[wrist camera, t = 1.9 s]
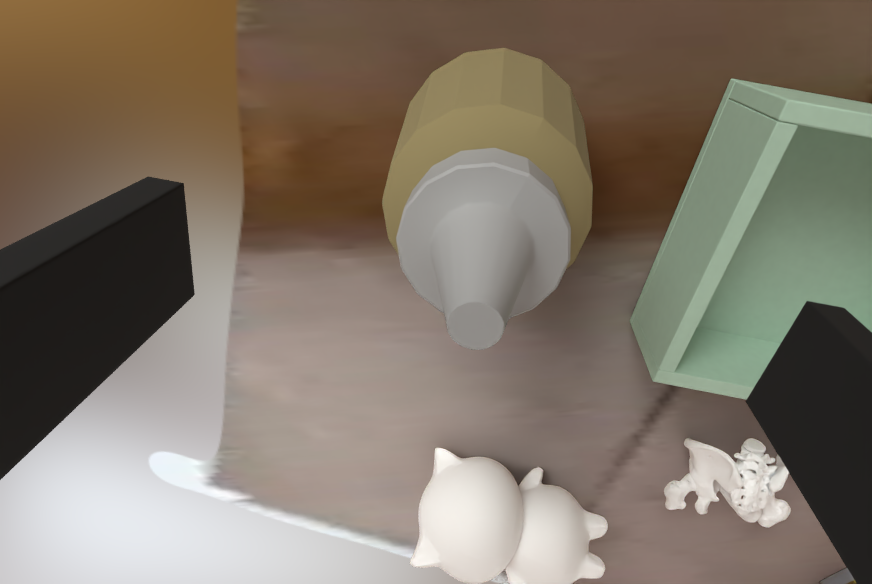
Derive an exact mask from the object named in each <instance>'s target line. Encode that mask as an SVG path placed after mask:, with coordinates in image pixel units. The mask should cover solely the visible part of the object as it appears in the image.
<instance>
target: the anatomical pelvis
mask: <svg viewBox="0 0 872 584" xmlns="http://www.w3.org/2000/svg"><path fill="white" fill-rule="evenodd" d="M684 445H685V446H686V447H687V448H688V449H689V453H690V459H689V469H690V473H688V474H686V475H685V476H684V477H683V479H682V480H681V481H676V480H673V481H671V482H669V483H668V484H667V486H666V487H665V489H664V494H665V496H666V502H665V507H666V508H667V509H669V510H675V509H684V508H685V507H686V503H685V502H684V498H685V496H686V495H687V494H688V493H689V492H690V491H696V495H698V500H697V502H696V503H695V509H696V510H697V512H698V513H699V514H701V515H703V514H706V513H707V512H708V511H707V510H708V506H709V504H710V502H711V501H715V502H718V501H719V498H718V497H717V496H716V493H717V492H718V491H719V490H720V492H721V493H722V495H723V496H724V497H725V499H726V500H727V502H728V503H729V504H730V506H731V507H732V508H733V509H734V510H735V511H736V513H737V514H738V516H740V517H741V518H742V519H743V520H745V521H747V522H751V523H754V522H756V521H758V523H759V524H760V525H761V526H763V527H767V528H769V527H771V526H773V525H774V524H776V523H778V522H780V521H784V520H785V519H787V517H788V516H789V514H790V512H791V509H790V507H789V505H788V503H787V502H786V501H784V500H781V499H776V498H775V494H774V493H775V492H777V491H779V490H781V489H782V488H783V486H784V483H785V481H786V480H787V478H788V474H789V471H788V470H787V468H786V467H785V465H784V463H783V462H782V460H781V458H780V457H779V455H777V457H776V459H777V463H776V465H771V466H767V465H766V464H771V463H774V462H775V458H770V457H769V455H768V454H765V455H764V453H765V450H766V447H765V446H764V445H763V443H761V442H760V441H758V440H756V439H753V438H750V439H747V440H746V441H744V443H743V445H742V446H741V452H740V453H735V454H734V457H735V458H738V460H737V462H736V463H735V461H733V459H732V458H731V457H730V456H729V455H728V454H727V453H725V452H724V451H722V450H720V449H717V448H715V447H713V446H710V445H707V444H703V443H701V442H698V441H695V440H692V439H690V438H686V439H685V441H684ZM710 456H711V457H710ZM740 474H741V475H742V477H741V476H740ZM741 487H743V489H742V488H741ZM741 496H743V499H741ZM739 504H741V506H739Z"/></svg>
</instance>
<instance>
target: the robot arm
mask: <svg viewBox="0 0 872 584" xmlns="http://www.w3.org/2000/svg"><path fill="white" fill-rule="evenodd" d="M193 296H194V285H193V275H192V264H191V254H190V245H189V234H188V224H187V214H186V203H185V194H184V184H183V183H179V182H174V181H169V180H163V179H158V178H152V177H146V178H145V179H142V180H140V181H138V182H136V183H134V184H132V185H130V186H128V187H126V188H124V189H122V190H120V191H118V192H116V193H114V194H112V195H110V196H108V197H106V198H104V199H102V200H100V201H98V202H96V203H94V204H92V205H90V206H88V207H86V208H84V209H82V210H80V211H78V212H76V213H74V214H72V215H69V216H68V217H65V218H64V219H61V220H59V221H57V222H55V223H54V224H51V225H49V226H47V227H45V228H43V229H41V230H39V231H37V232H35V233H33V234H31V235H29V236H27V237H25V238H23V239H21V240H19V241H17V242H15V243H13V244H11V245H9V246H7V247H5V248H3V249H1V250H0V480H1V478H3V477H4V476H5V475H6V474H7V473H8V472H9V471H10V470H11V469H12V468H13V467H14V466H15V465H16V464H17V463H18V462H19V461H20V460H21V459H22V458H24V457H25V456H26V455H27V454H28V453H29V452H30V451H31V450H32V449H33V448H34V447H35V446H36V445H37V444H38V443H39V442H40V441H42V440H43V439H44V438H45V437H46V436H47V435H48V434H49V433H50V432H51V431H52V430H53V429H54V428H55V427H56V426H57V425H58V424H59V423H60V422H61V421H63V420H64V418H66V417H67V416H68V415H69V414H70V413H71V412H72V411H73V410H74V409H75V408H76V407H77V406H78V405H79V404H80V403H81V402H82V401H83V400H84V399H86V398H87V397H88V396H89V395H90V394H91V393H92V392H93V391H94V390H95V389H96V388H97V387H98V386H99V385H100V384H101V383H102V382H103V381H104V380H106V379H107V378H108V377H109V376H110V375H111V374H112V373H113V372H114V371H115V370H116V369H117V368H118V367H119V366H120V365H121V364H122V363H123V362H124V361H126V360H127V359H128V358H129V357H130V356H131V355H132V354H133V353H134V352H135V351H136V350H137V349H138V348H139V347H140V346H141V345H142V344H143V343H144V342H145V341H146V340H148V338H150V337H151V336H152V335H153V334H154V333H155V332H156V331H157V330H158V329H159V328H160V327H161V326H162V325H163V324H164V323H165V322H166V321H168V320H169V318H171V317H172V316H173V315H174V314H175V313H176V312H177V311H178V310H179V309H180V308H181V307H182V306H183V305H184V304H185V303H186V302H187V301H188V300H190V299H191V297H193ZM746 403H747V404H748V406H749V407H750V409H751V411H752V412H753V414H754V416H755V417H756V419H757V421H758V422H759V424H760V426H761V427H762V429H763V430H764V432H765V434H766V435H767V437H768V439H769V440H770V442H771V444H772V445H773V447H774V448H775V450H776V452H777V453H778V455H779V457H780V458H781V460H782V462H783V463H784V465H785V467H786V468H787V470H788V471H789V473H790V475H791V476H792V478H793V480H794V481H795V483H796V485H797V486H798V488H799V490H800V491H801V493H802V494H803V496H804V498H805V499H806V501H807V503H808V504H809V506H810V508H811V509H812V511H813V513H814V514H815V516H816V517H817V519H818V521H819V522H820V524H821V526H822V527H823V529H824V531H825V532H826V534H827V536H828V537H829V539H830V540H831V542H832V544H833V545H834V547H835V549H836V550H837V552H838V554H839V555H840V557H841V559H842V560H843V562H844V563H845V565H846V567H847V568H848V570H849V572H850V573H851V575H852V577H853V578H854V580H855V582H856V583H857V584H872V332H871V331H870V330H868V329H867V328H866V327H865V326H864V325H863V324H862V323H861V322H860V321H858V320H857V319H856V318H855V317H854V316H853V315H852V314H851V313H849V312H848V311H847V310H846V309H845V308H843V307H837V306H832V305H827V304H821V303H816V302H811V301H806V303H805V305H804V306H803V308H802V310H801V311H800V313H799V315H798V316H797V318H796V319H795V321H794V323H793V324H792V326H791V328H790V329H789V331H788V333H787V334H786V336H785V338H784V339H783V341H782V342H781V344H780V346H779V347H778V349H777V351H776V352H775V354H774V356H773V357H772V359H771V361H770V362H769V364H768V365H767V367H766V369H765V370H764V372H763V374H762V375H761V377H760V379H759V380H758V382H757V383H756V385H755V387H754V388H753V390H752V392H751V393H750V395H749V397H748V398H747V400H746Z"/></svg>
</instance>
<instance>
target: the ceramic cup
mask: <svg viewBox="0 0 872 584" xmlns="http://www.w3.org/2000/svg"><path fill="white" fill-rule="evenodd" d="M820 584H857V583H856V582H855V580H854V578H853V577H852V575H851V573H850V572H849V570H848V568H845V569H843V570H841V571H839V572H837V573H835V574H833V575H832V576H830V577H828V578H826V579H824V580H822V581H821V582H820Z"/></svg>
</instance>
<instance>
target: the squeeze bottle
mask: <svg viewBox="0 0 872 584" xmlns="http://www.w3.org/2000/svg"><path fill="white" fill-rule="evenodd" d="M592 193H593V185H592V177H591V170H590V163H589V155H588V148H587V140H586V133H585V126H584V120H583V118H582V115H581V113H580V110H579V108H578V106H577V103H576V101H575V98H574V96H573V93H572V91H571V88H570V86H569V85H568V84H567V83H566V82H565V81H564V80H563V79H561V78H560V77H559V76H558V75H557V74H556V73H555V72H554V71H553V70H552V69H551V68H550V67H549V66H548V65H547V64H545V63H544V62H543V61H542V60H541V59H537V58H534V57H531V56H528V55H525V54H522V53H519V52H516V51H513V50H510V49H507V48H498V49H490V50H481V51H473V52H465V53H464V54H462V55H460V56H459V57H457V58H455V59H454V60H452V61H450V62H449V63H447V64H445V65H444V66H442V67H440V68H438V69H437V70H435V71H433V72H432V73H431V75H430V76H429V77H428V79H427V80H426V81H425V83H424V84H423V86H422V87H421V88H420V90H419V91H418V92H417V94H416V95H415V97H414V98H413V99H412V101H411V102H410V104H409V107H408V111H407V114H406V117H405V120H404V124H403V127H402V130H401V133H400V136H399V140H398V143H397V146H396V149H395V153H394V156H393V159H392V162H391V166H390V170H389V174H388V178H387V183H386V187H385V191H384V195H383V199H382V205H383V211H384V217H385V222H386V228H387V234H388V239H389V241H390V242H391V244H392V245H393V247H394V249H395V250H396V252H397V253H398V255H399V259H400V265H401V269H402V271H403V272H404V274H405V275H406V277H407V279H408V280H409V282H410V283H411V285H412V286H413V288H414V290H415V291H416V293H417V294H418V295H419V296H421V297H422V298H423V299H425V300H426V301H427V302H429V303H430V304H431V305H433V306H434V307H436V308H437V309H438V310H440V311H441V312H442V313H444V315H445V320H446V325H447V330H448V333H449V335H450V336H451V338H452V339H453V341H455V342H456V343H457V344H459V345H460V346H462V347H465V348H468V349H471V350H483V349H486V348H488V347H491V346H493V345H494V344H495V343H497V342H498V341H499V340H500V339H501V336H502V334H503V332H504V329H505V327H506V324H507V322H508V320H509V318H512V317H514V316H517V315H519V314H522V313H524V312H527V311H530V310H532V309H534V308H535V307H536V306H537V305H538V304H540V303H541V302H542V301H543V300H544V299H545V298H546V297H547V296H548V295H550V294H551V293H552V292H553V291H554V290H555V289H556V288H557V287H558V285H559V282H560V280H561V278H562V276H563V274H564V272H565V270H566V269H567V268H568V267H569V266H570V265H571V264H572V263H574V262H575V260H576V257H577V255H578V253H579V251H580V249H581V247H582V245H583V243H584V241H585V239H586V237H587V235H588V232H589V230H590V228H591V224H592Z"/></svg>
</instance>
